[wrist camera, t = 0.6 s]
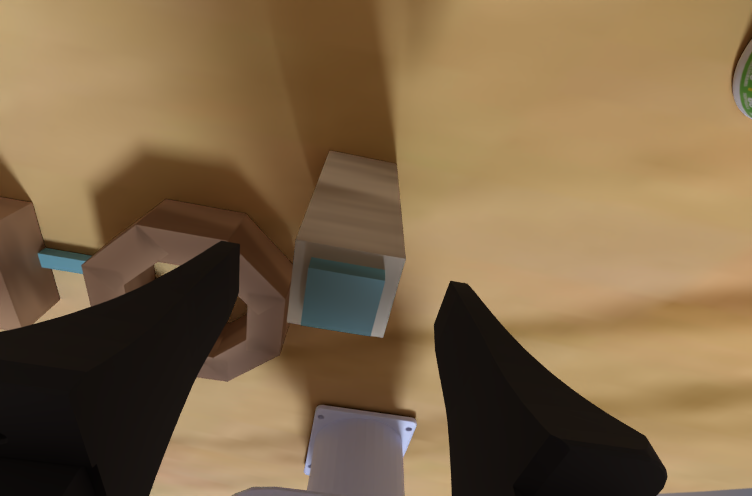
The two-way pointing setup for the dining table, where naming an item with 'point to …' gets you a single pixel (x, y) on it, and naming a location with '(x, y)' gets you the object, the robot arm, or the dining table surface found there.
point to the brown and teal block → (349, 248)
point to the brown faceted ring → (182, 243)
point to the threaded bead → (22, 267)
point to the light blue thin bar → (62, 260)
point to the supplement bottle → (744, 82)
